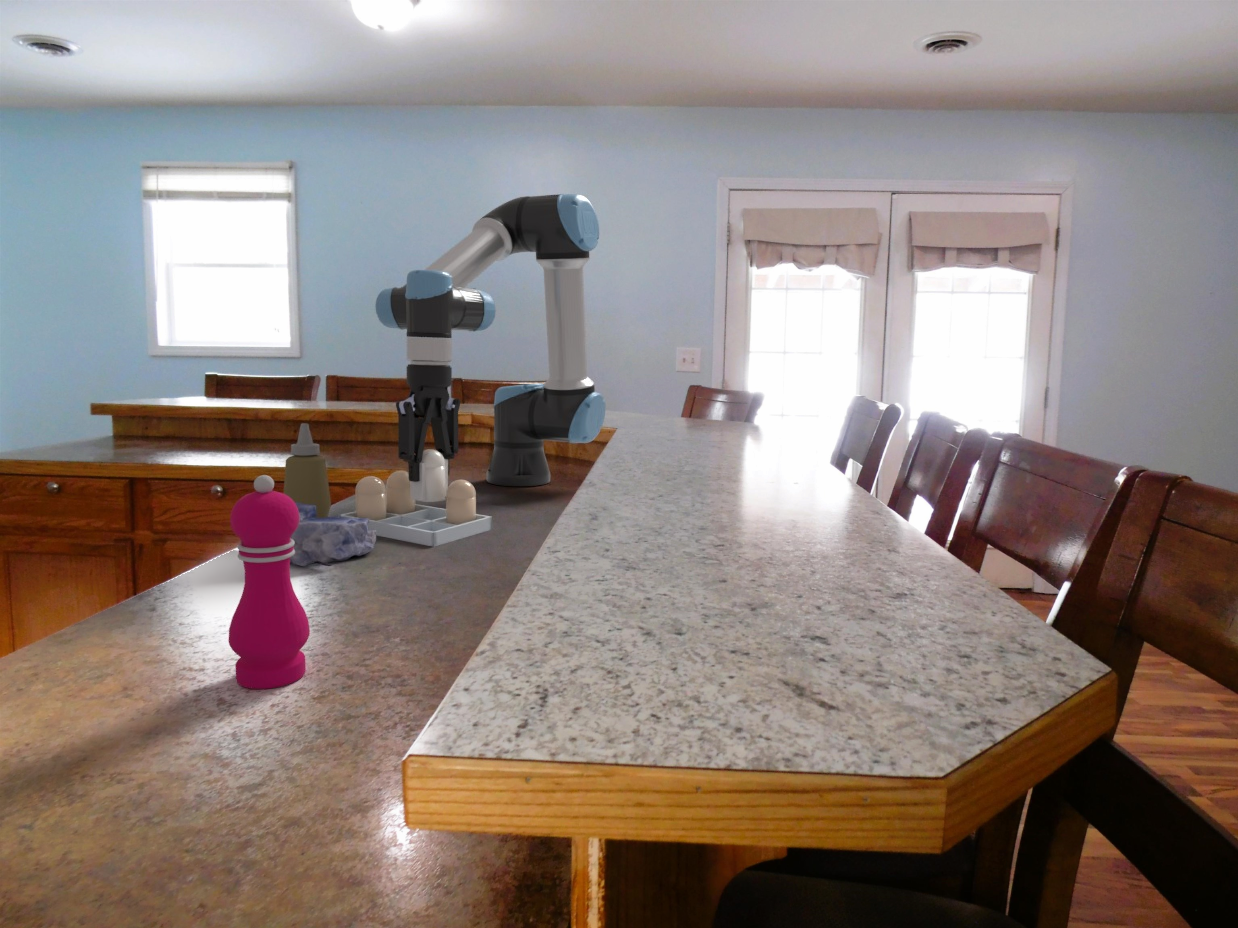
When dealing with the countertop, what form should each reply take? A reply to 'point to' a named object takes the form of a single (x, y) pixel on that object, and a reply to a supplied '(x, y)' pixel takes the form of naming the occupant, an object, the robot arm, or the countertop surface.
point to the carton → (426, 526)
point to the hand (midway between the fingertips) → (429, 497)
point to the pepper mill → (267, 591)
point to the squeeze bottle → (307, 474)
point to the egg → (434, 475)
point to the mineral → (329, 537)
